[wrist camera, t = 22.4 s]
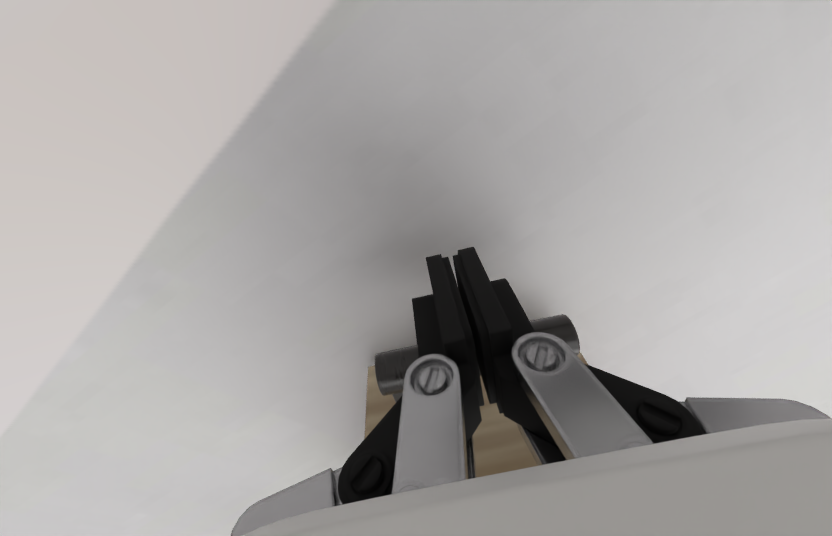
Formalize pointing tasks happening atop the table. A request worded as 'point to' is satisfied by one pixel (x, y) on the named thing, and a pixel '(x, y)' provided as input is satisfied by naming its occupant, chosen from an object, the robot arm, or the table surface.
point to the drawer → (496, 433)
